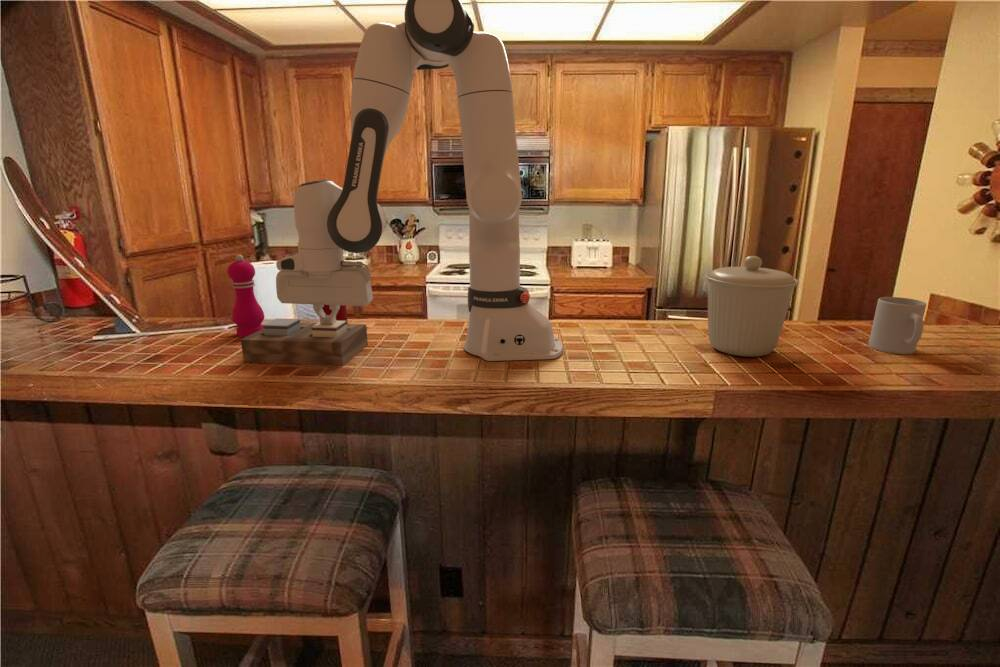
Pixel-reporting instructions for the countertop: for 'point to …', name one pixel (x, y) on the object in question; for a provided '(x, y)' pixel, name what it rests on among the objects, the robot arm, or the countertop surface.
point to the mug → (897, 325)
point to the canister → (747, 307)
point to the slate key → (282, 327)
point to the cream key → (329, 329)
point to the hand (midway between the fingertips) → (328, 323)
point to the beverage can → (340, 315)
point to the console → (305, 346)
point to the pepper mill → (245, 298)
